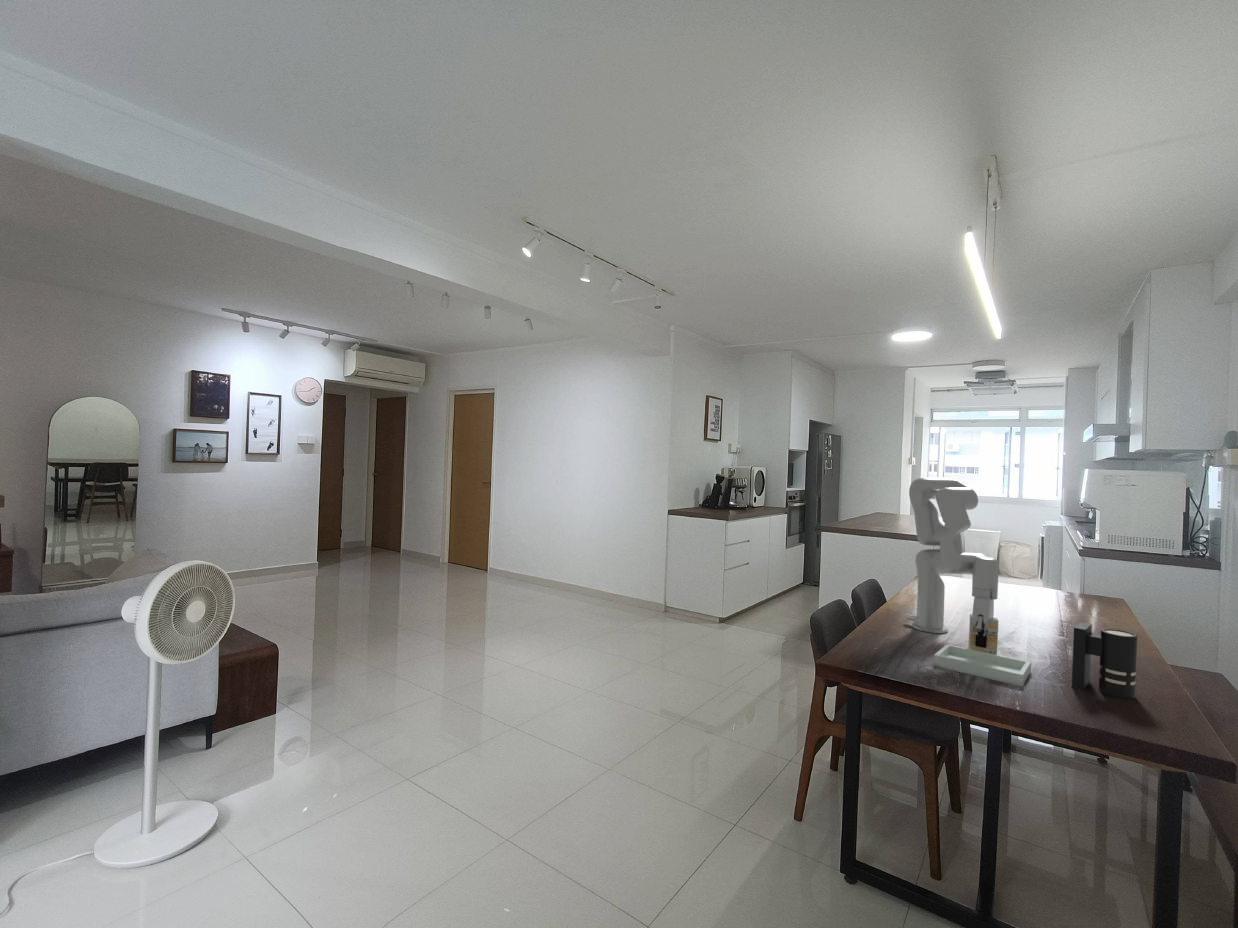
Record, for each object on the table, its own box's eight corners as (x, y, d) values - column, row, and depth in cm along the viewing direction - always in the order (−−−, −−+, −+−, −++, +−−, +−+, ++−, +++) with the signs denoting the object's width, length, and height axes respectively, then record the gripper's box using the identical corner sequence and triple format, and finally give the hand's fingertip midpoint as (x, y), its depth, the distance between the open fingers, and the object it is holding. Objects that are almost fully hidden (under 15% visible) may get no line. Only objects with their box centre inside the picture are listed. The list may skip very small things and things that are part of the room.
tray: (933, 665, 191) (934, 654, 191) (946, 654, 203) (947, 643, 203) (1022, 686, 175) (1022, 674, 175) (1030, 672, 186) (1031, 661, 186)
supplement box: (969, 654, 203) (970, 616, 203) (968, 650, 207) (969, 613, 207) (997, 658, 199) (998, 620, 199) (995, 654, 203) (997, 616, 203)
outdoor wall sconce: (1132, 702, 165) (1134, 639, 165) (1071, 687, 175) (1073, 627, 175) (1137, 693, 172) (1139, 632, 171) (1078, 679, 182) (1080, 621, 182)
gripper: (977, 587, 212) (976, 637, 212) (966, 594, 199) (964, 647, 199) (1002, 590, 207) (1000, 641, 207) (992, 598, 194) (990, 653, 194)
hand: (982, 644), depth 203 cm, fingers closed on supplement box, 5 cm apart
